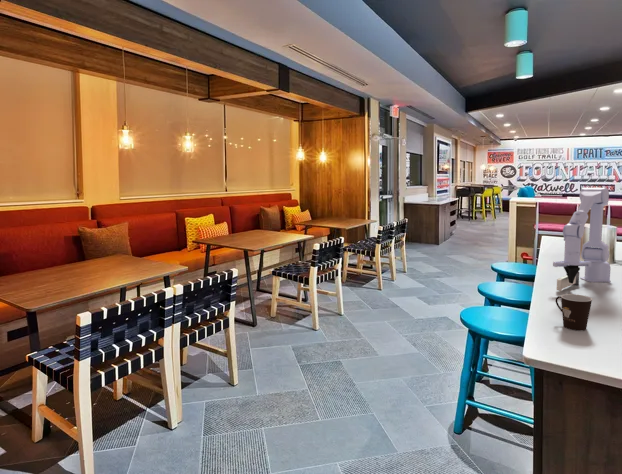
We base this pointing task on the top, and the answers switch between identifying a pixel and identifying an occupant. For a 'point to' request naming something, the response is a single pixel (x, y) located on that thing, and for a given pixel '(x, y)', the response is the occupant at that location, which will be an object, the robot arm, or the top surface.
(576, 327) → the coffee mug
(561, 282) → the gate
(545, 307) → the top surface
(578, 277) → the gate post
